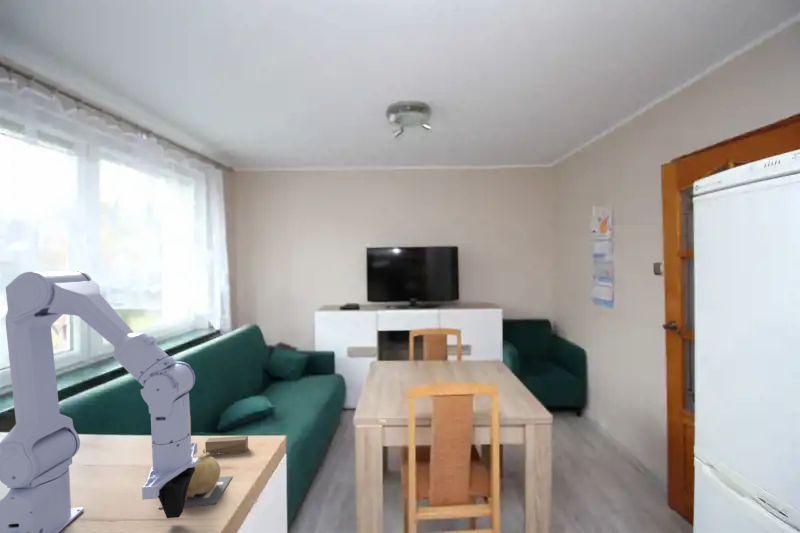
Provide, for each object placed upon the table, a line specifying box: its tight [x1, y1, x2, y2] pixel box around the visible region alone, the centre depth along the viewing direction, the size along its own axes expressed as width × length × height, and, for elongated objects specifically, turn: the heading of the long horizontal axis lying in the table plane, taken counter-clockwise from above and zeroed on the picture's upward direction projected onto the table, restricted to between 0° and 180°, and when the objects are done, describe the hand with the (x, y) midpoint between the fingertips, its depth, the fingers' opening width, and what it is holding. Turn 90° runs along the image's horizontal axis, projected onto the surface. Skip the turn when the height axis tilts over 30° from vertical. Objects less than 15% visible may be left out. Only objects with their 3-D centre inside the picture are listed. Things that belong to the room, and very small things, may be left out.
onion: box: [186, 448, 221, 498], centre depth 75 cm, size 8×8×7 cm
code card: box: [158, 475, 233, 510], centre depth 75 cm, size 9×10×1 cm
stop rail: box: [204, 435, 249, 455], centre depth 91 cm, size 2×9×3 cm, turn 95°
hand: (174, 515), depth 66 cm, fingers closed
